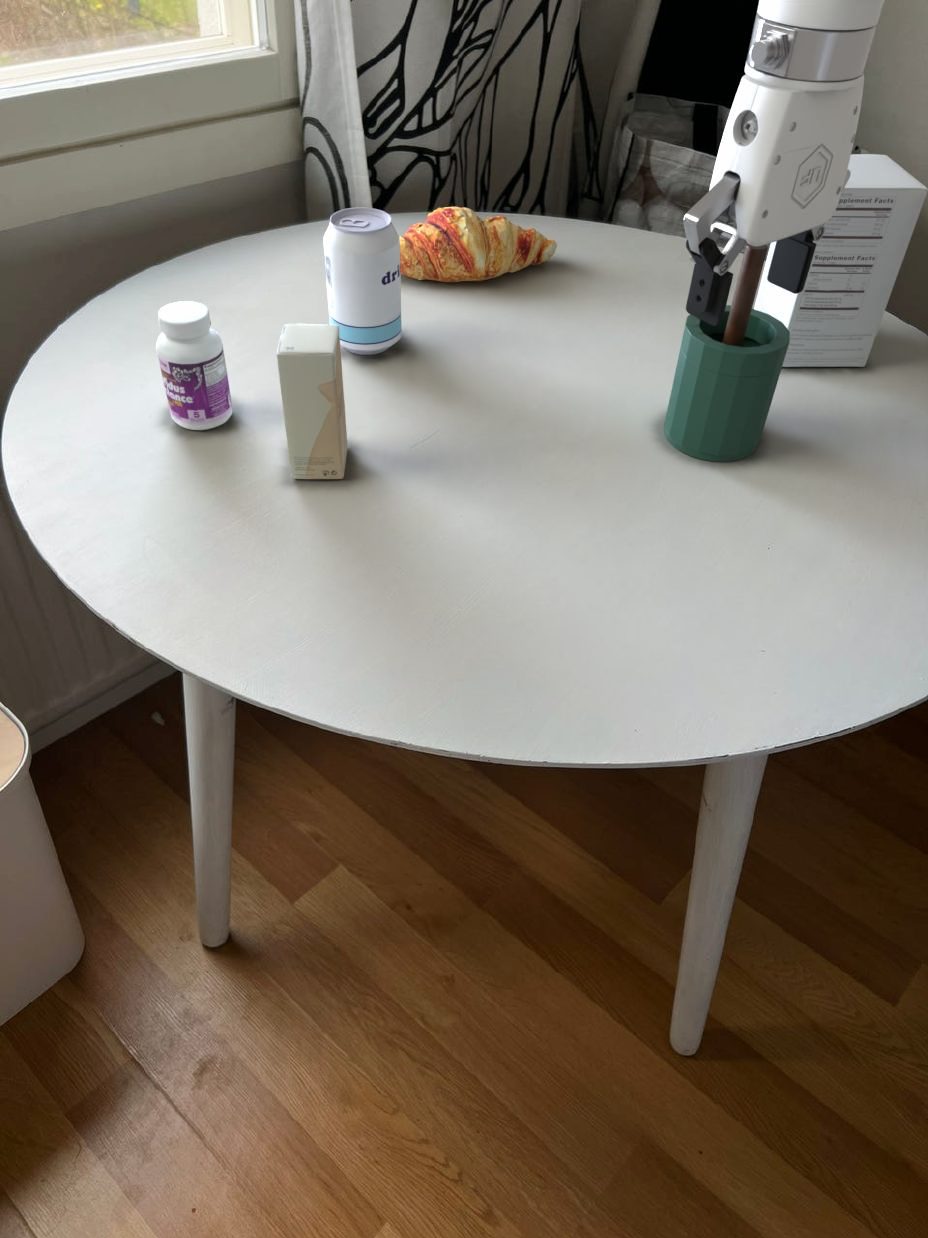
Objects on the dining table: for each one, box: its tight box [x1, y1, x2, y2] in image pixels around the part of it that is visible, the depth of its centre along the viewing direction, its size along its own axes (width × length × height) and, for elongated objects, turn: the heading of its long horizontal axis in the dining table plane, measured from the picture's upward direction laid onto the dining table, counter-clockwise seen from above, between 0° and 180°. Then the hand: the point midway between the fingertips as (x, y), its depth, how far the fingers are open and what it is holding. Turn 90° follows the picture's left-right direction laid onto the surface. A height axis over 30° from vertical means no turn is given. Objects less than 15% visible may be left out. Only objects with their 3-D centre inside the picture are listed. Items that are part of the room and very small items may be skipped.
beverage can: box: [322, 206, 402, 356], centre depth 86 cm, size 7×7×12 cm
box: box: [276, 323, 348, 480], centre depth 72 cm, size 5×4×11 cm
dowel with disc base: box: [722, 242, 769, 347], centre depth 75 cm, size 4×4×16 cm
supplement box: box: [753, 153, 928, 368], centre depth 87 cm, size 10×9×17 cm
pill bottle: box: [155, 300, 234, 431], centre depth 77 cm, size 5×5×10 cm
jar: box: [663, 304, 790, 463], centre depth 77 cm, size 8×8×10 cm
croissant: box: [399, 206, 558, 284], centre depth 101 cm, size 21×10×8 cm, turn 104°
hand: (744, 302), depth 72 cm, fingers open, 9 cm apart
